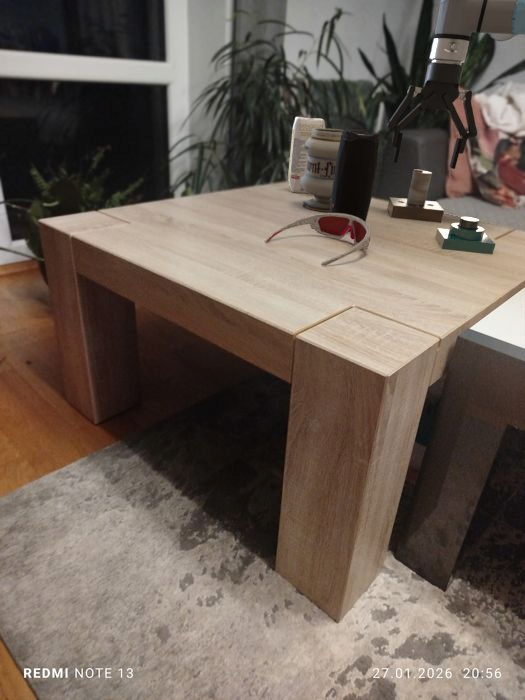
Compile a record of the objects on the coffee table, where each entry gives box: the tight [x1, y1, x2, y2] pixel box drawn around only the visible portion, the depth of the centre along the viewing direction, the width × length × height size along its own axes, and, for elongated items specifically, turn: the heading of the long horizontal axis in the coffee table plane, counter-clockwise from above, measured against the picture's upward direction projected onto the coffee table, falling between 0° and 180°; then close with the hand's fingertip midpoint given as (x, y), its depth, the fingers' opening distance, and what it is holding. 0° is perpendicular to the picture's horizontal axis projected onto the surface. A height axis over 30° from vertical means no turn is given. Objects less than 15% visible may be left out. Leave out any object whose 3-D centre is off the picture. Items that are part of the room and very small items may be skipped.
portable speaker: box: [329, 128, 381, 232], centre depth 107 cm, size 9×9×20 cm
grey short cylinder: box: [458, 216, 480, 230], centre depth 102 cm, size 4×4×2 cm
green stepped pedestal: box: [434, 222, 496, 255], centre depth 103 cm, size 10×8×4 cm
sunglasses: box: [264, 212, 372, 267], centre depth 95 cm, size 17×17×5 cm
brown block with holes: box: [386, 196, 445, 224], centre depth 125 cm, size 12×10×3 cm
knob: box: [406, 169, 433, 205], centre depth 122 cm, size 4×4×8 cm
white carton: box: [287, 116, 326, 194], centre depth 138 cm, size 8×9×19 cm
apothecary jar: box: [300, 127, 344, 213], centre depth 122 cm, size 12×12×18 cm
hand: (423, 165), depth 120 cm, fingers open, 13 cm apart
